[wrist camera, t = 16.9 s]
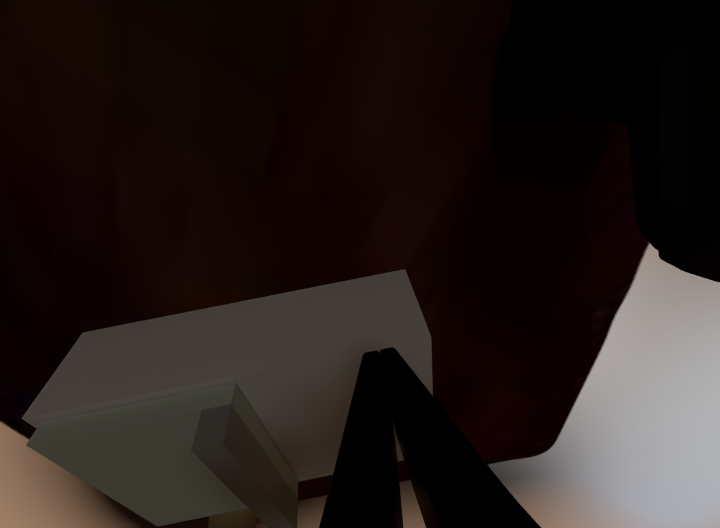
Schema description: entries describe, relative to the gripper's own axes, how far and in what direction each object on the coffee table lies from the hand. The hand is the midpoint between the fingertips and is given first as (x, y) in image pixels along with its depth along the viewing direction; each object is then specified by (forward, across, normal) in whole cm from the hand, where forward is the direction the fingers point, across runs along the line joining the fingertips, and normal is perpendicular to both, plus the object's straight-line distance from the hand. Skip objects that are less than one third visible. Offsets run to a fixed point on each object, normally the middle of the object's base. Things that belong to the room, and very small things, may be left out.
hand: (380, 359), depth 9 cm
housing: (+12, +8, +14) cm, 20 cm away
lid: (+6, +13, +14) cm, 20 cm away
